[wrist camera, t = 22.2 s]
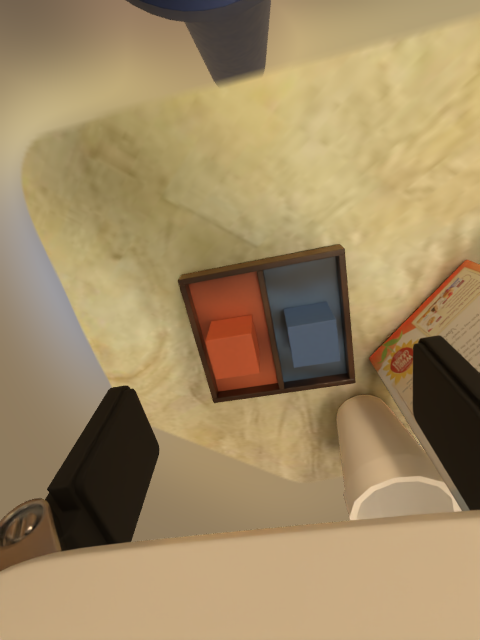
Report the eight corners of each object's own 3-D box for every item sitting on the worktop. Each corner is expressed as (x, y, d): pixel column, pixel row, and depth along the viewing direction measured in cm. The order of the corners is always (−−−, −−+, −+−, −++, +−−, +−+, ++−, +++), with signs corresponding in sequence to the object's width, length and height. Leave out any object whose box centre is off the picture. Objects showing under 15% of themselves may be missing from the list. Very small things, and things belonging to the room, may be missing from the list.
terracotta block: (211, 321, 36) (205, 340, 32) (252, 314, 36) (251, 333, 32) (220, 356, 38) (216, 379, 34) (259, 350, 38) (260, 373, 33)
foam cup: (404, 380, 39) (468, 472, 27) (400, 440, 43) (456, 545, 31) (321, 388, 40) (348, 480, 28) (325, 446, 44) (350, 550, 32)
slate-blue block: (283, 308, 35) (286, 327, 31) (326, 301, 35) (336, 319, 31) (289, 345, 37) (293, 368, 33) (331, 339, 37) (340, 361, 32)
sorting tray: (181, 274, 35) (177, 280, 33) (339, 244, 33) (344, 248, 31) (215, 392, 41) (213, 403, 39) (351, 373, 39) (355, 383, 37)
